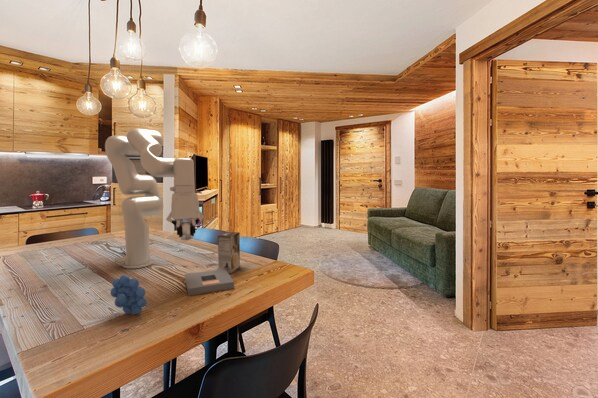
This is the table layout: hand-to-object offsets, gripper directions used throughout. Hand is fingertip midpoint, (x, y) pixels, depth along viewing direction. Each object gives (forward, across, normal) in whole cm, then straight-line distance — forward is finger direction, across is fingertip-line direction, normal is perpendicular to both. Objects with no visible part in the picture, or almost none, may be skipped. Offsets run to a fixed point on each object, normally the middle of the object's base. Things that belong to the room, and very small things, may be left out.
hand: (186, 235), depth 114 cm
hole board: (+18, +7, -8) cm, 21 cm away
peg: (+1, 0, 0) cm, 1 cm away
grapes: (+18, -19, -23) cm, 35 cm away
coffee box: (+18, +18, +6) cm, 26 cm away
